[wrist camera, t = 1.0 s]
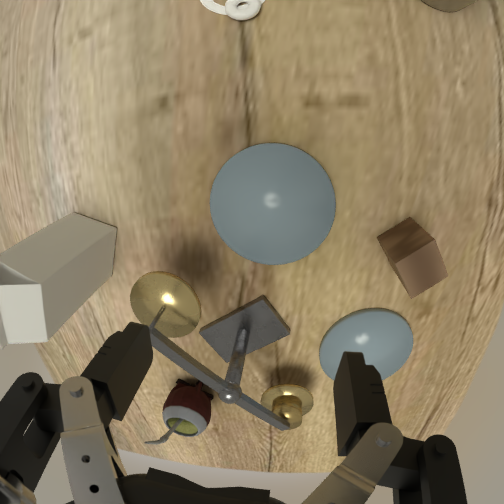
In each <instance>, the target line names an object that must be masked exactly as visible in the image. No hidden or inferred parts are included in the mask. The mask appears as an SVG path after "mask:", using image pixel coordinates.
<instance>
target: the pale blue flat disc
mask: <svg viewBox="0 0 504 504" xmlns="http://www.w3.org/2000/svg"><path fill="white" fill-rule="evenodd" d="M335 208H336V202H335V194H334V190H333V186H332V184H331V181H330V179H329V177H328V175H327V173H326V172H325V171H324V169H323V168H322V167H321V165H320V164H319V163H318V162H317V161H316V160H315V159H314V158H313V157H311V156H310V155H309V154H307V153H306V152H304V151H302V150H301V149H298V148H296V147H293V146H290V145H286V144H281V143H264V144H258V145H254V146H251V147H249V148H246V149H244V150H242V151H241V152H239V153H237V154H236V155H234V156H233V157H232V158H231V159H229V160H228V161H227V162H226V163H225V164H224V166H223V167H222V168H221V170H220V171H219V172H218V174H217V176H216V178H215V180H214V183H213V186H212V190H211V195H210V211H211V216H212V220H213V223H214V226H215V228H216V230H217V232H218V234H219V235H220V237H221V238H222V240H223V241H224V242H225V243H226V244H227V245H228V246H229V247H230V248H231V249H232V250H233V251H235V252H236V253H237V254H239V255H240V256H242V257H244V258H246V259H248V260H251V261H253V262H257V263H261V264H268V265H279V264H287V263H291V262H294V261H297V260H300V259H302V258H304V257H306V256H307V255H309V254H310V253H312V252H313V251H314V250H315V249H316V248H318V247H319V245H320V244H321V243H322V242H323V241H324V239H325V238H326V236H327V235H328V233H329V231H330V229H331V227H332V224H333V221H334V216H335Z"/></svg>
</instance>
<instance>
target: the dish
mask: <svg viewBox="0 0 504 504" xmlns="http://www.w3.org/2000/svg"><path fill="white" fill-rule="evenodd" d="M412 347H413V334H412V331H411V329H410V327H409V325H408V323H407V322H406V320H405V319H404V318H403V317H402V316H401V315H399V314H397V313H396V312H394V311H391V310H387V309H382V308H370V309H364V310H359V311H356V312H353V313H351V314H349V315H347V316H345V317H343V318H341V319H340V320H339V321H337V322H336V323H335V324H334V325H333V326H332V327H330V329H329V330H328V331H327V332H326V334H325V335H324V337H323V339H322V341H321V344H320V349H319V356H320V364H321V367H322V369H323V371H324V372H325V373H326V374H327V376H329V377H330V378H331V379H333V380H335V376H336V373H337V370H338V367H339V364H340V361H341V358H342V355H343V352H344V351H349V352H362V353H363V355H364V359H365V363H366V365H374V367H375V368H376V369H377V371H378V372H379V373H380V375H381V379H382V380H384V379H386V378H387V377H389V376H391V375H392V374H394V373H395V372H396V371H398V370H399V369H400V368H401V367H402V366H403V364H404V363H405V362H406V360H407V359H408V357H409V355H410V353H411V350H412Z"/></svg>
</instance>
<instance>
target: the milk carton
mask: <svg viewBox="0 0 504 504" xmlns="http://www.w3.org/2000/svg"><path fill="white" fill-rule="evenodd" d="M116 233H117V228H116V227H113V226H110V225H107V224H104V223H102V222H99V221H96V220H93V219H91V218H88V217H85V216H82V215H80V214H77V213H74V212H73V213H71V214H69V215H67V216H65V217H63V218H62V219H60V220H58V221H56V222H54V223H52V224H50V225H49V226H47V227H45V228H43V229H41V230H40V231H38V232H36V233H34V234H33V235H31V236H29V237H27V238H26V239H24V240H22V241H21V242H19V243H17V244H16V245H14V246H12V247H11V248H9V249H7V250H6V251H4V252H2V253H1V254H0V348H1V349H3V348H4V347H5V346H6V345H7V344H16V343H37V342H48V340H49V339H50V338H51V337H52V336H53V335H54V334H55V333H56V332H57V331H58V330H59V328H60V327H61V326H62V325H63V324H64V323H65V322H66V321H67V320H68V319H69V318H70V317H71V316H72V315H73V314H74V313H75V312H76V311H77V310H78V309H79V308H80V307H81V306H82V305H83V303H84V302H85V301H86V300H87V299H88V298H89V297H90V296H91V295H92V294H93V293H94V292H95V291H96V290H97V289H98V288H99V287H100V286H102V285H103V284H104V283H105V282H106V281H107V280H108V279H109V278H110V277H111V276H112V271H113V260H114V250H115V241H116Z"/></svg>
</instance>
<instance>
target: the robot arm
mask: <svg viewBox="0 0 504 504" xmlns="http://www.w3.org/2000/svg"><path fill="white" fill-rule="evenodd" d="M421 1H423V2H425V3H426V4H428V5H429V6H431V7H433V8H435V9H438V10H441V11H446V12H456V11H458V10H461V9H463V8H464V7H466V6H468V5H470V4H472V3H474V2H476V1H478V0H421ZM152 359H153V350H152V344H151V338H150V331H149V327H148V326H147V325H144V324H139V323H134V322H130V323H129V324H128V325H127V326H126V328H125V329H124V330H123V332H120V331H117V332H116V333H114V334H113V335H111V336H110V337H108V339H107V340H106V341H105V343H104V344H103V347H101V348H100V349H99V351H98V353H97V354H96V355H95V356H94V358H93V359H92V360H91V362H90V363H89V364H88V366H87V367H86V369H85V370H84V371H83V373H82V374H81V376H75V377H71V378H68V379H66V380H65V381H64V382H63V383H62V384H49V383H44V382H43V380H42V378H41V376H40V375H39V374H37V373H33V372H29V373H25V374H22V375H21V376H19V377H18V378H17V380H16V381H15V382H14V383H13V385H12V386H11V387H10V389H9V391H8V392H7V393H6V394H5V396H4V397H3V399H2V400H1V401H0V504H36V498H35V495H34V494H33V493H34V490H35V488H36V486H37V484H38V482H39V480H40V478H41V476H42V473H43V471H44V469H45V467H46V465H47V463H48V461H49V459H50V457H51V455H52V453H53V451H54V449H55V447H56V445H57V443H58V442H59V440H60V438H61V443H62V449H63V455H64V460H65V465H66V470H67V474H68V478H69V483H70V487H71V491H72V495H73V498H74V500H73V501H71V502H68V503H66V504H285V503H283V502H281V501H280V500H277V499H275V498H272V497H269V495H270V490H263V489H254V488H246V487H226V488H205V487H203V486H200V485H198V484H196V483H194V482H191V481H189V480H187V479H185V478H183V477H181V476H179V475H176V474H172V473H168V472H164V471H161V470H157V469H154V468H149V470H148V473H147V474H133V475H127V473H126V471H125V469H124V466H123V464H122V462H121V459H120V456H119V453H118V450H117V447H116V444H115V441H114V437H113V434H112V431H111V427H110V425H109V424H110V422H111V420H112V418H113V419H116V420H119V421H122V420H123V418H124V416H125V414H126V412H127V410H128V408H129V406H130V404H131V402H132V400H133V398H134V396H135V394H136V392H137V391H138V389H139V387H140V385H141V383H142V381H143V379H144V377H145V375H146V374H147V372H148V370H149V368H150V366H151V363H152ZM333 392H334V404H335V416H336V430H337V446H338V456H347V457H346V458H345V459H344V460H343V462H342V463H341V464H340V465H339V466H337V467H336V468H335V469H334V470H333V471H332V472H331V473H330V474H329V476H328V477H327V478H326V479H325V480H324V481H323V482H322V483H321V484H320V485H319V486H318V487H317V488H316V489H315V490H314V491H313V493H312V494H311V495H310V496H309V497H308V498H307V499H306V500H305V501H304V502H303V503H302V504H364V503H365V502H366V501H367V499H368V498H369V497H370V495H371V494H372V492H373V491H374V489H375V486H376V485H380V486H385V487H390V488H393V501H394V504H467V499H466V494H465V488H464V483H463V478H462V473H461V468H460V464H459V459H458V455H457V451H456V447H455V445H454V443H453V442H452V440H450V439H449V438H448V437H446V436H444V435H433V436H430V437H429V438H428V439H427V440H426V441H425V442H424V441H419V440H414V439H410V438H406V437H404V436H403V435H402V433H401V431H400V430H399V429H398V428H397V427H396V426H394V425H393V424H392V421H391V416H390V412H389V408H388V403H387V399H386V395H385V391H384V387H383V383H382V379H381V375H380V373H379V372H378V371H377V369H376V368H375V367H374V365H366V363H365V359H364V355H363V353H362V352H349V351H344V352H343V355H342V358H341V361H340V364H339V367H338V370H337V373H336V376H335V380H334V387H333ZM32 419H33V421H32V422H31V420H32ZM30 422H31V424H30ZM29 424H30V426H29V427H28V425H29ZM27 427H28V429H27ZM26 429H27V431H26V432H25V430H26ZM24 432H25V434H24ZM23 435H24V436H23Z"/></svg>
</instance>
